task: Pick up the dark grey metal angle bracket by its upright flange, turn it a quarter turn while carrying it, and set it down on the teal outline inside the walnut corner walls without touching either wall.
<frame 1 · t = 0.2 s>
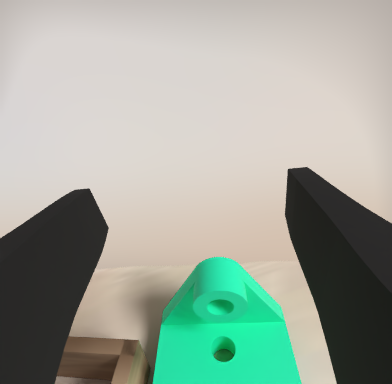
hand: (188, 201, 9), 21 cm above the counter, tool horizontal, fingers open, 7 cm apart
camera mount: (224, 363, 25), on the counter
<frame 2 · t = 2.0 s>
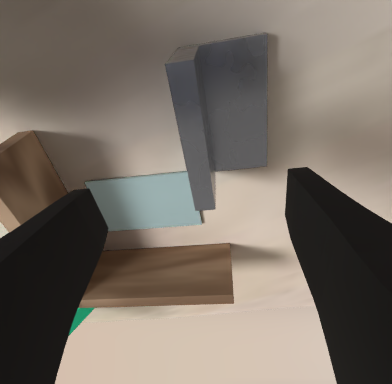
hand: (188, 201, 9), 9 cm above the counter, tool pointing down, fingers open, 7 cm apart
bracket: (199, 114, 17), on the counter
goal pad: (140, 185, 20), on the counter
corner walls: (139, 200, 21), on the counter
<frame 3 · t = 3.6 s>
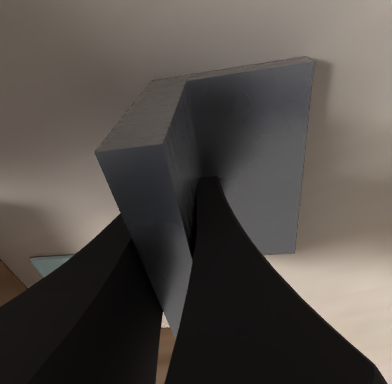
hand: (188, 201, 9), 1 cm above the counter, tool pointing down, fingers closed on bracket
bracket: (190, 179, 11), on the counter, touching gripper
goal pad: (108, 264, 14), on the counter
corner walls: (109, 280, 15), on the counter
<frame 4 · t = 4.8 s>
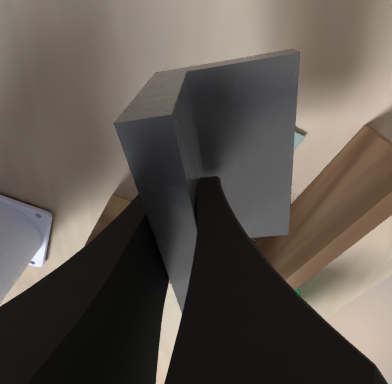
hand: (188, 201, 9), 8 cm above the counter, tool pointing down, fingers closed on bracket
bracket: (190, 166, 11), point 6 cm above the counter, touching gripper
corner walls: (226, 173, 18), on the counter
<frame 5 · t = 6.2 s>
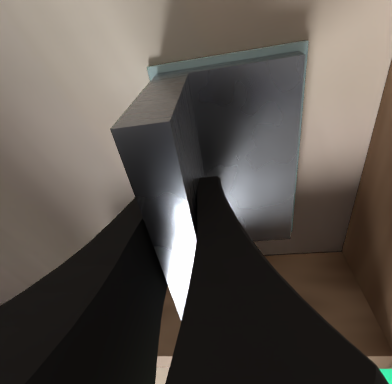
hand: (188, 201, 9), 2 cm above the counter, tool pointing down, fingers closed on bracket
bracket: (192, 168, 11), resting on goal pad, touching gripper
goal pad: (192, 167, 11), on the counter
corner walls: (227, 173, 12), on the counter
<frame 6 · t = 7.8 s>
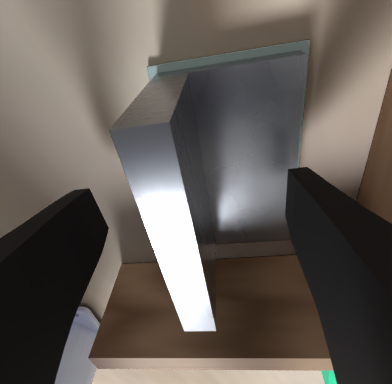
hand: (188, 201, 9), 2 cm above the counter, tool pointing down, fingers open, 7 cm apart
bracket: (192, 168, 11), resting on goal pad
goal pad: (192, 167, 11), on the counter
corner walls: (227, 173, 11), on the counter
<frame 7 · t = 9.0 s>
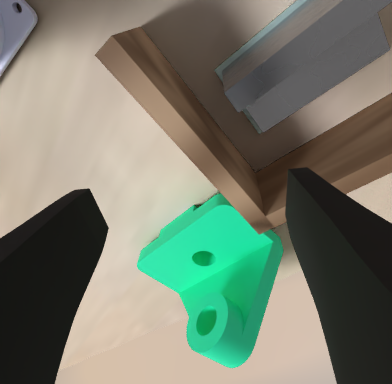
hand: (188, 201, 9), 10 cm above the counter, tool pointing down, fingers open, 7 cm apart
bracket: (284, 32, 15), resting on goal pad
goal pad: (282, 32, 15), on the counter
corner walls: (287, 61, 16), on the counter
camera mount: (204, 236, 26), on the counter
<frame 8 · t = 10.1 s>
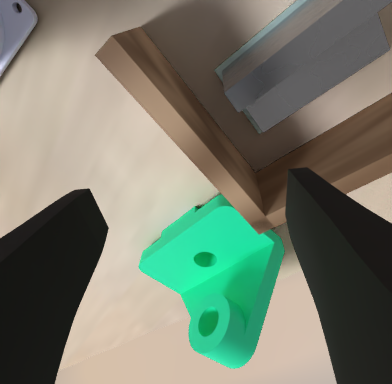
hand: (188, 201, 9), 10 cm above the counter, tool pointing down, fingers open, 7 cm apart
bracket: (284, 32, 15), resting on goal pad
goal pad: (282, 32, 15), on the counter
corner walls: (287, 61, 16), on the counter
camera mount: (206, 237, 26), on the counter
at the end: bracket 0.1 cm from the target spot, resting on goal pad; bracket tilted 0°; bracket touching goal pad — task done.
